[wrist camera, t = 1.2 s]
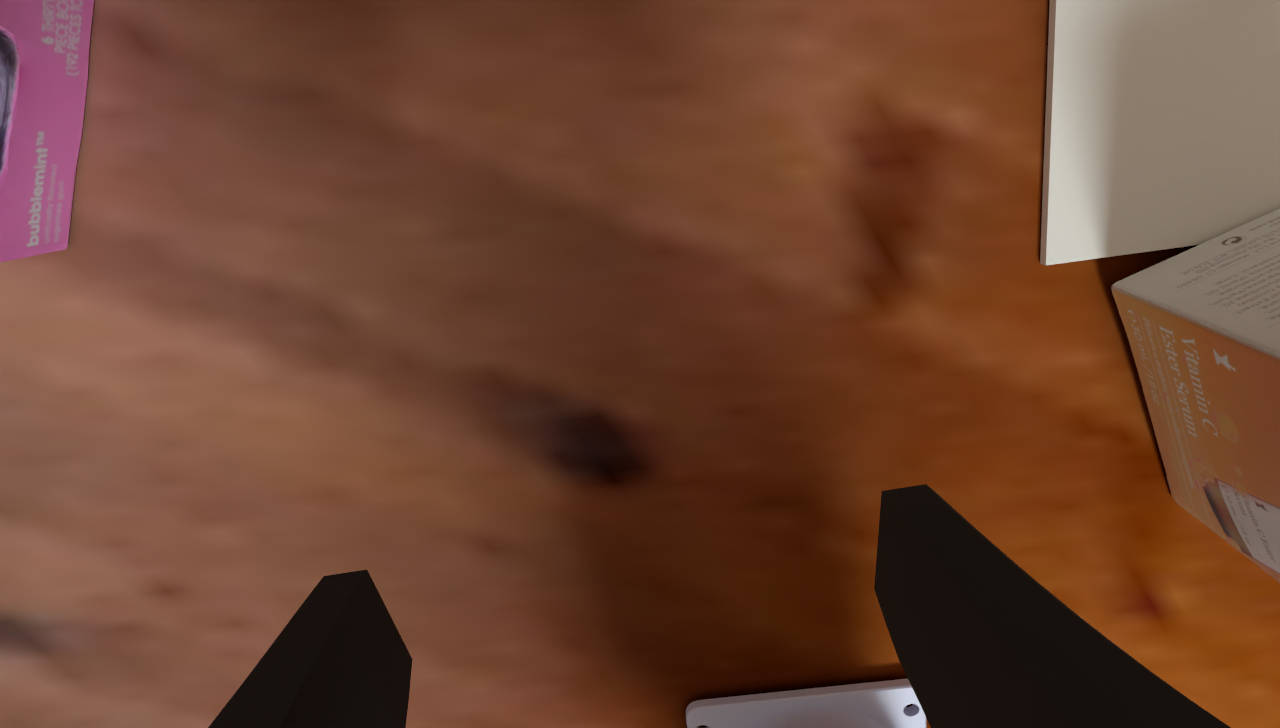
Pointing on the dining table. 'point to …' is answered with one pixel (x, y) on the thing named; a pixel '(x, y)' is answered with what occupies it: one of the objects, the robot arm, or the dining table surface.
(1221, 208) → the mat
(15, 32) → the gum box
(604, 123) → the dining table surface
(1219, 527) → the small box
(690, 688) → the dining table surface
